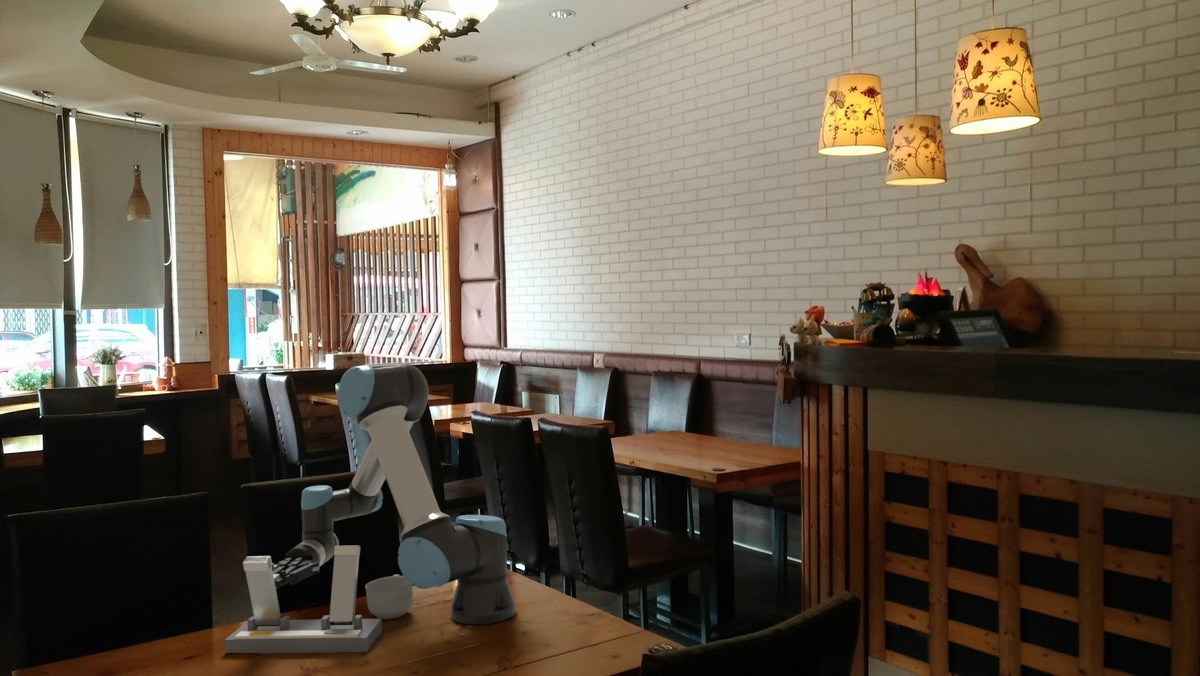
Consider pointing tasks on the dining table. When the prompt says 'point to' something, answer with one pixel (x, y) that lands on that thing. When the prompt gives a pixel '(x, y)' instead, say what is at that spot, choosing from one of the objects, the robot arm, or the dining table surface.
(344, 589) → the lever inner
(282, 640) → the grey stand base
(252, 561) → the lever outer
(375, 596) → the teacup
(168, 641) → the dining table surface
